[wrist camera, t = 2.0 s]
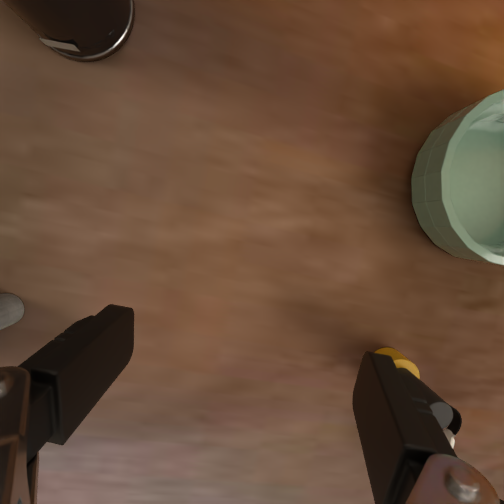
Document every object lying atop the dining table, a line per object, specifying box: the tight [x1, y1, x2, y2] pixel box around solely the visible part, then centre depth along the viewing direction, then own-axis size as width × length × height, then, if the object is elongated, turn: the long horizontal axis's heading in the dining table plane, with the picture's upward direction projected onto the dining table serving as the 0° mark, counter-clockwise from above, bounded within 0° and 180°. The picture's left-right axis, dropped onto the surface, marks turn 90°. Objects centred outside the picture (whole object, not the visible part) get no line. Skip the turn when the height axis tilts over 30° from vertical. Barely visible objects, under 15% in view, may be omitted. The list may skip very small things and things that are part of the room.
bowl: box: [411, 89, 504, 266], centre depth 30 cm, size 16×16×6 cm
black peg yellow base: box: [374, 347, 453, 429], centre depth 29 cm, size 4×4×9 cm
